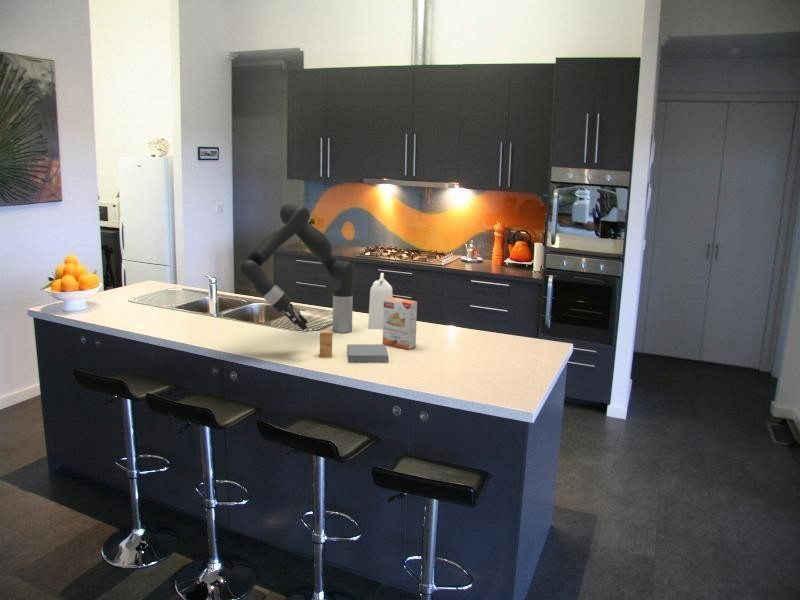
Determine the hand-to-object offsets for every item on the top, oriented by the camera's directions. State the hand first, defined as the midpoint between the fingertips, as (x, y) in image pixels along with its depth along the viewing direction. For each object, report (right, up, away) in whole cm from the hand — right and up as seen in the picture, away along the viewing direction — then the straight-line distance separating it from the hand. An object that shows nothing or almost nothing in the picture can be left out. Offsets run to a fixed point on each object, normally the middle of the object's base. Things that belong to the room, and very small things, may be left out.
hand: (305, 326), depth 274 cm
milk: (+29, -2, +54) cm, 62 cm away
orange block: (+8, -12, +3) cm, 15 cm away
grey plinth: (+25, -13, +3) cm, 28 cm away
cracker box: (+38, -10, +21) cm, 44 cm away
